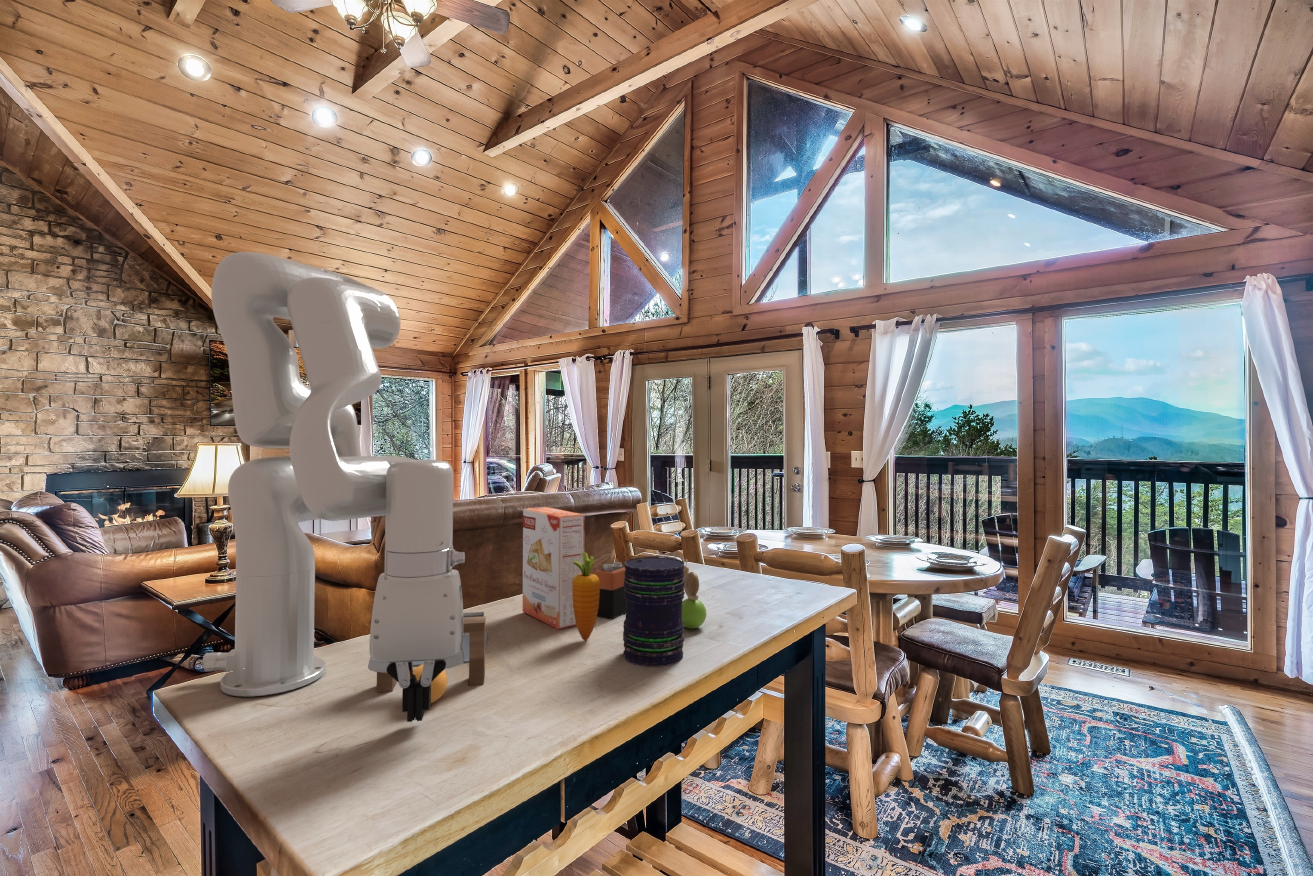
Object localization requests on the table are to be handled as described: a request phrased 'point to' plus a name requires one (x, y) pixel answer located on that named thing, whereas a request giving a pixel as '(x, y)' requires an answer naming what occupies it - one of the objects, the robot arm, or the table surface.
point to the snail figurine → (692, 601)
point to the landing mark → (464, 645)
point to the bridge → (475, 655)
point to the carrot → (585, 597)
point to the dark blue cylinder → (653, 611)
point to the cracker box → (551, 563)
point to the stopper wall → (473, 614)
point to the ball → (434, 683)
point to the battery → (611, 590)
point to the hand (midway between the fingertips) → (416, 716)
